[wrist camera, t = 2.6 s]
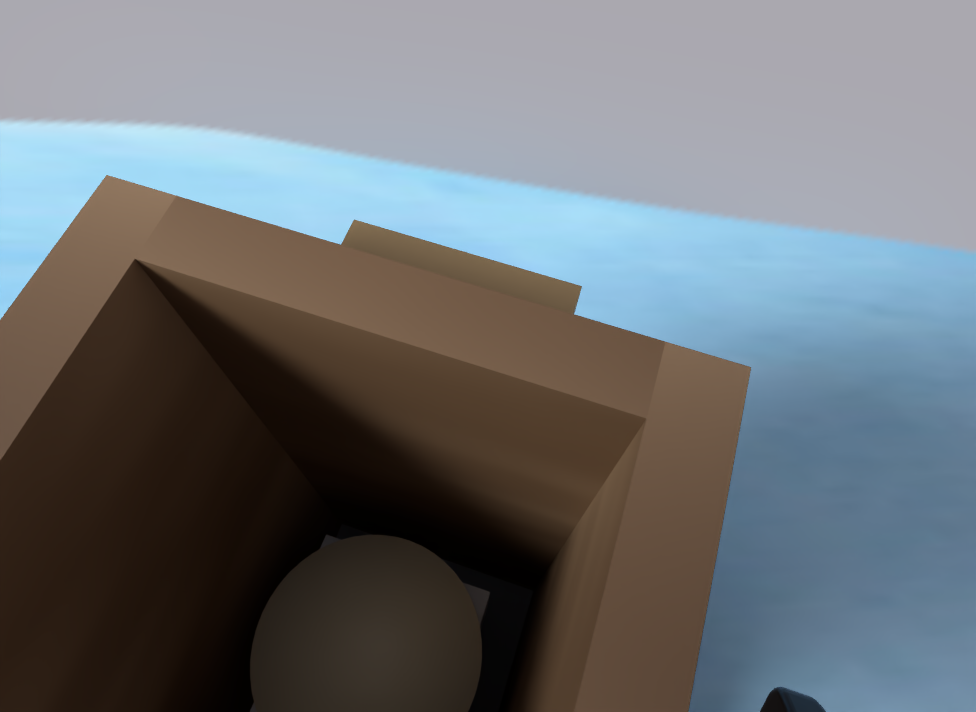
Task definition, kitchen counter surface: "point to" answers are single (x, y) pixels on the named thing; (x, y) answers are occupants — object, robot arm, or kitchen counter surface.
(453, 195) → the kitchen counter surface
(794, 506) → the kitchen counter surface
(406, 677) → the block
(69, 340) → the walnut sleeve
